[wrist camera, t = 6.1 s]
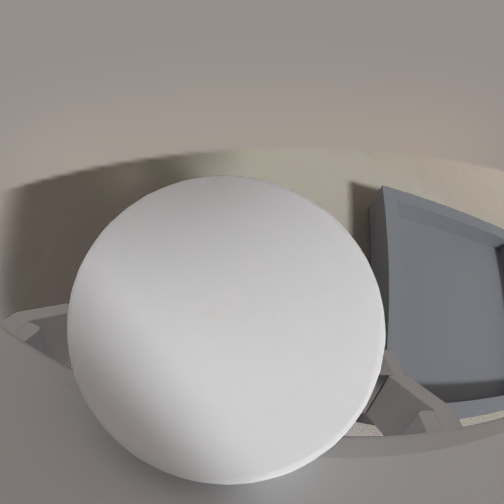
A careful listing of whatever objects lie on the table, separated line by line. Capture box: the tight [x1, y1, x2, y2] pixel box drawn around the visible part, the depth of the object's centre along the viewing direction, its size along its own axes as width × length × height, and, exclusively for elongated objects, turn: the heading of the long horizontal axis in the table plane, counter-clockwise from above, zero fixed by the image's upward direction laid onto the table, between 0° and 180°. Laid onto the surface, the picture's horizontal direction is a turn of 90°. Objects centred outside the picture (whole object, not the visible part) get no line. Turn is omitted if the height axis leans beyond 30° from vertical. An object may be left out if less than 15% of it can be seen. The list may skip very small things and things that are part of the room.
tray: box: [357, 185, 504, 425], centre depth 14 cm, size 14×14×2 cm
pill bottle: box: [67, 175, 386, 485], centre depth 8 cm, size 6×6×11 cm
